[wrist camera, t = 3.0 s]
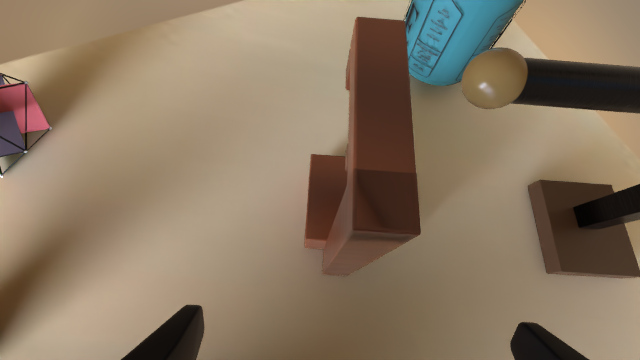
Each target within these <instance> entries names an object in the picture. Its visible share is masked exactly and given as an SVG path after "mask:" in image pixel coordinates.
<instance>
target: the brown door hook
mask: <svg viewBox="0 0 640 360" xmlns="http://www.w3.org/2000/svg"><path fill="white" fill-rule="evenodd" d="M346 90H350V91H349V133H348V144H347V148H346V156H345V157H344V156H330V155H316V154H312V155H311V162H310V175H309V188H308V201H307V215H306V228H305V248H310V249H324V251H323V270H322V274H327V275H343V276H348V275H350V274H351V273H353V272H355V271H357V270H359V269H360V268H362V267H364V266H366V265H367V264H369V263H371V262H373V261H374V260H376V259H378V258H380V257H382V256H383V255H385V254H387V253H389V252H390V251H392V250H394V249H396V248H397V247H399V246H401V245H403V244H405V243H406V242H408V241H410V240H412V239H413V238H415V237H417V236H419V235H420V234H421V229H420V215H419V201H418V187H417V174H416V165H415V151H414V137H413V123H412V108H411V94H410V80H409V66H408V52H407V37H406V24H405V21H402V20H390V19H378V18H366V17H357V18H356V20H355V24H354V29H353V35H352V40H351V48H350V51H349V57H348V62H347V68H346Z"/></svg>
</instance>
